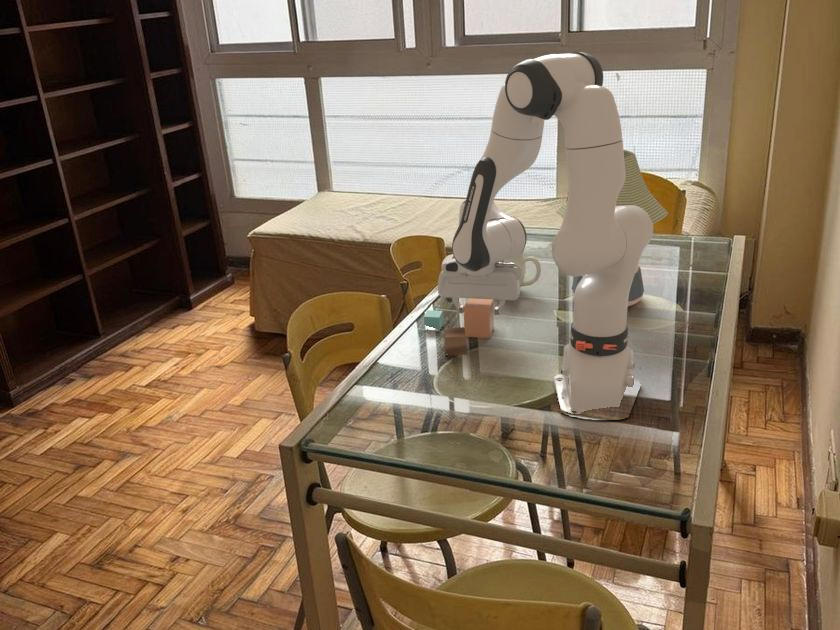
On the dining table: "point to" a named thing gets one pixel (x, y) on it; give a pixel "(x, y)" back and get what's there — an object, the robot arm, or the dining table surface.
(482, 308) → the salmon pink cube
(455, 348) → the walnut block
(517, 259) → the pitcher
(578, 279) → the desk lamp
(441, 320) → the cube
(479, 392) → the dining table surface
